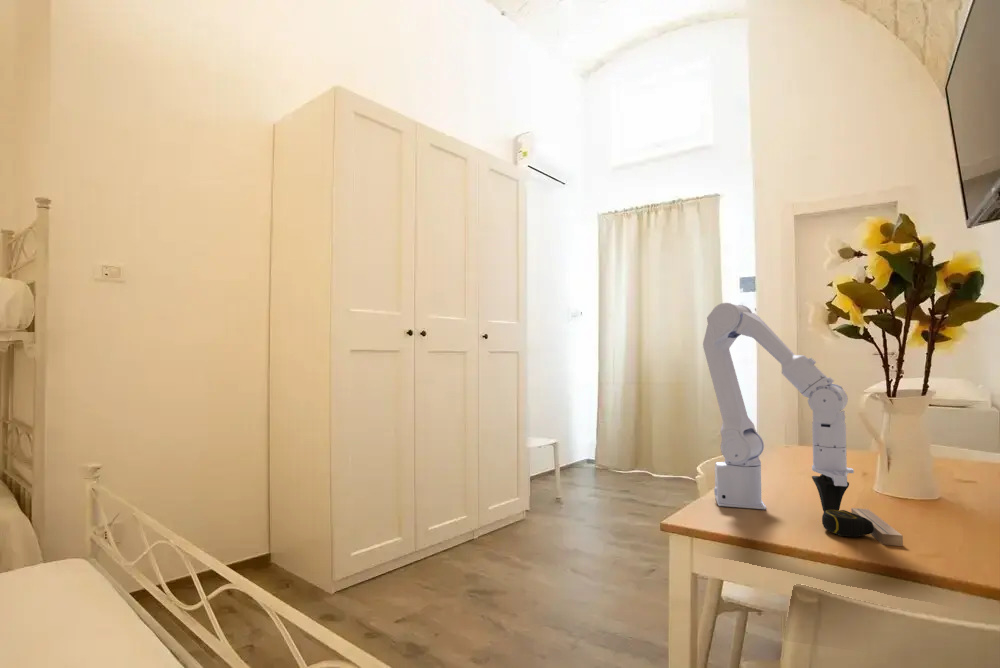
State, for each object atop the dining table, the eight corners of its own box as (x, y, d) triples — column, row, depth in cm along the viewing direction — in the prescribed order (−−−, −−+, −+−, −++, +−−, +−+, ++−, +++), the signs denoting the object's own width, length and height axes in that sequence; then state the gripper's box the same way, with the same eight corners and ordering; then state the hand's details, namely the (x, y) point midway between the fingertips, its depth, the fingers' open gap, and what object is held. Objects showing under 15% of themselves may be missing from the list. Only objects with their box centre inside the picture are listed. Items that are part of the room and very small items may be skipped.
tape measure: (876, 539, 95) (875, 518, 95) (841, 541, 94) (840, 520, 95) (846, 527, 102) (846, 507, 102) (813, 528, 101) (813, 508, 101)
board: (882, 544, 93) (882, 533, 93) (851, 516, 108) (851, 507, 108) (903, 546, 92) (902, 535, 92) (868, 518, 107) (868, 508, 107)
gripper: (865, 453, 98) (867, 527, 98) (840, 440, 112) (842, 505, 112) (821, 451, 100) (823, 524, 100) (803, 439, 114) (804, 503, 114)
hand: (830, 514), depth 106 cm, fingers closed
